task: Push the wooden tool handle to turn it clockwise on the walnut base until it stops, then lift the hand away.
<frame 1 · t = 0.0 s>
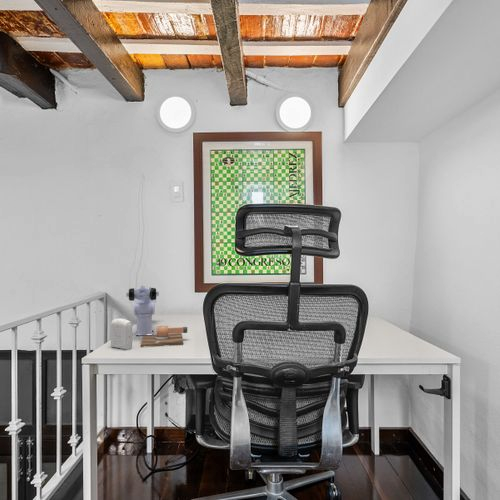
hand: (141, 294, 173), 22 cm above the table, tool horizontal, fingers open, 7 cm apart
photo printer: (121, 348, 165), on the table
walnut base: (162, 340, 177), on the table
wooden tool handle: (172, 330, 177), point 5 cm above the table, hinge at 0.0°
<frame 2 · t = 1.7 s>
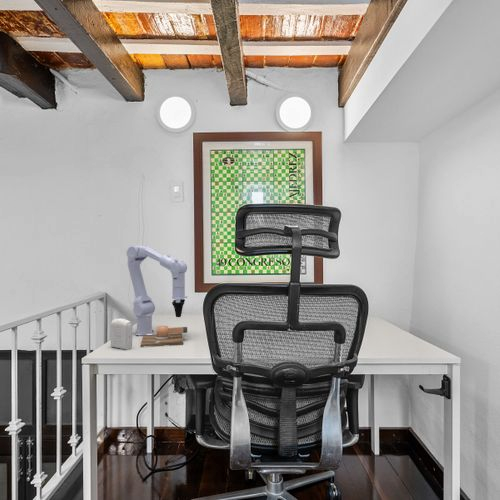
hand: (178, 315, 183), 10 cm above the table, tool pointing down, fingers open, 6 cm apart
nothing on the table moved.
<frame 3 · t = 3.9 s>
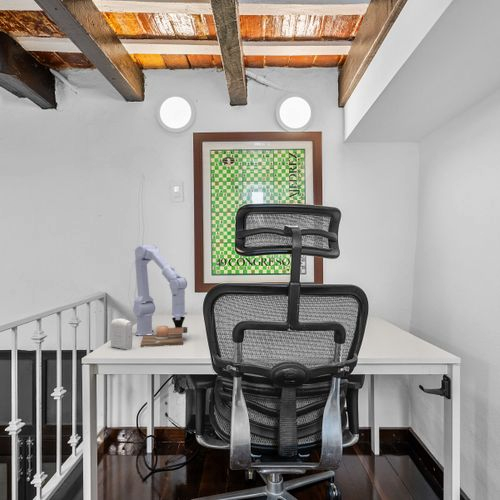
hand: (178, 332, 180), 3 cm above the table, tool pointing down, fingers closed, pressing on wooden tool handle
wooden tool handle: (172, 330, 177), point 5 cm above the table, hinge at 1.0°, touching gripper
everything else where it was.
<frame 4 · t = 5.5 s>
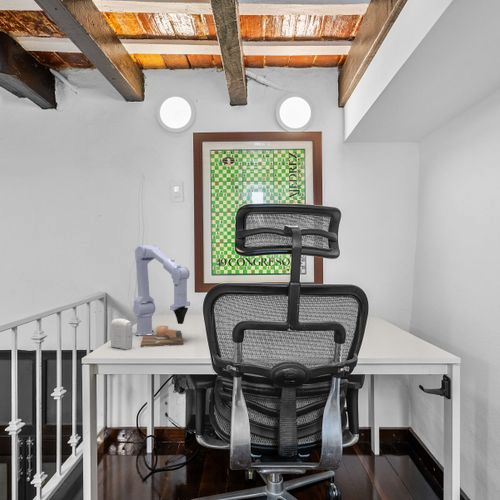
hand: (180, 323, 176), 8 cm above the table, tool pointing down, fingers closed
wooden tool handle: (169, 332, 174), point 5 cm above the table, hinge at 46.6°
everything else where it was.
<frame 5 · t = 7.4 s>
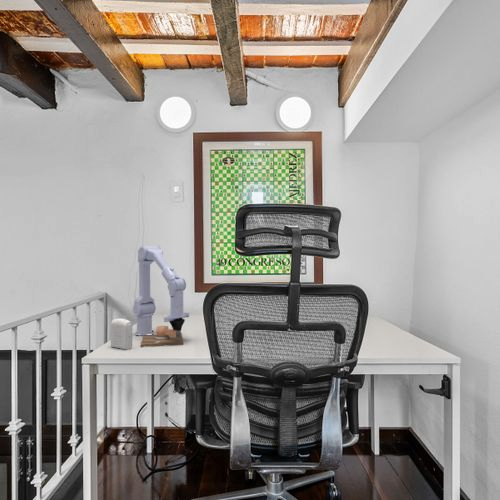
hand: (177, 335, 174), 3 cm above the table, tool pointing down, fingers closed
wooden tool handle: (169, 332, 174), point 5 cm above the table, hinge at 46.7°, touching gripper
everything else where it was.
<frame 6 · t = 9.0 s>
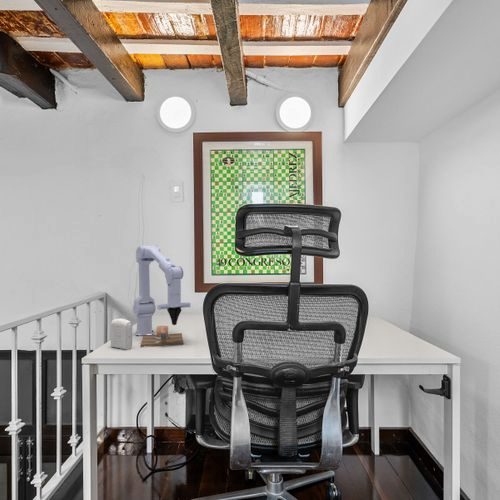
hand: (174, 324, 171), 9 cm above the table, tool pointing down, fingers closed
wooden tool handle: (162, 333, 172), point 5 cm above the table, hinge at 86.5°
everything else where it was.
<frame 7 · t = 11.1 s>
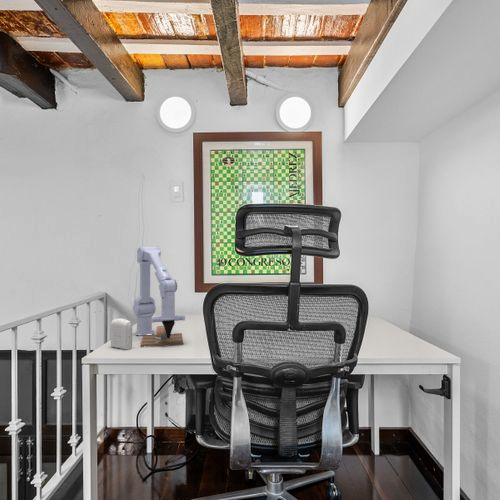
hand: (168, 337, 170), 3 cm above the table, tool pointing down, fingers closed
wooden tool handle: (162, 333, 172), point 5 cm above the table, hinge at 86.5°, touching gripper
everything else where it was.
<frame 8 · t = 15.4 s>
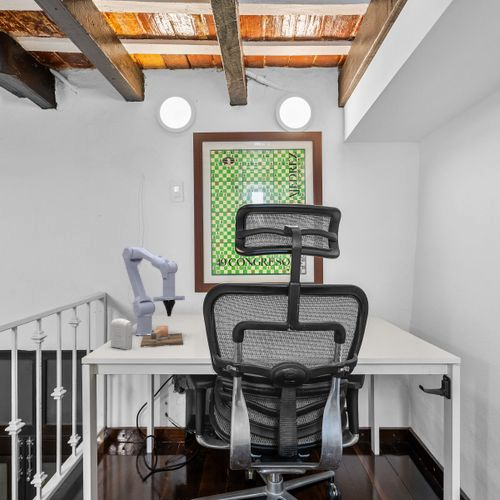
hand: (169, 316, 182), 10 cm above the table, tool pointing down, fingers closed
wooden tool handle: (158, 333, 172), point 5 cm above the table, hinge at 110.0°
everything else where it was.
at the end: wooden tool handle at +110° (first picture: +0°); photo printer moved 0.2 cm from its start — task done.
